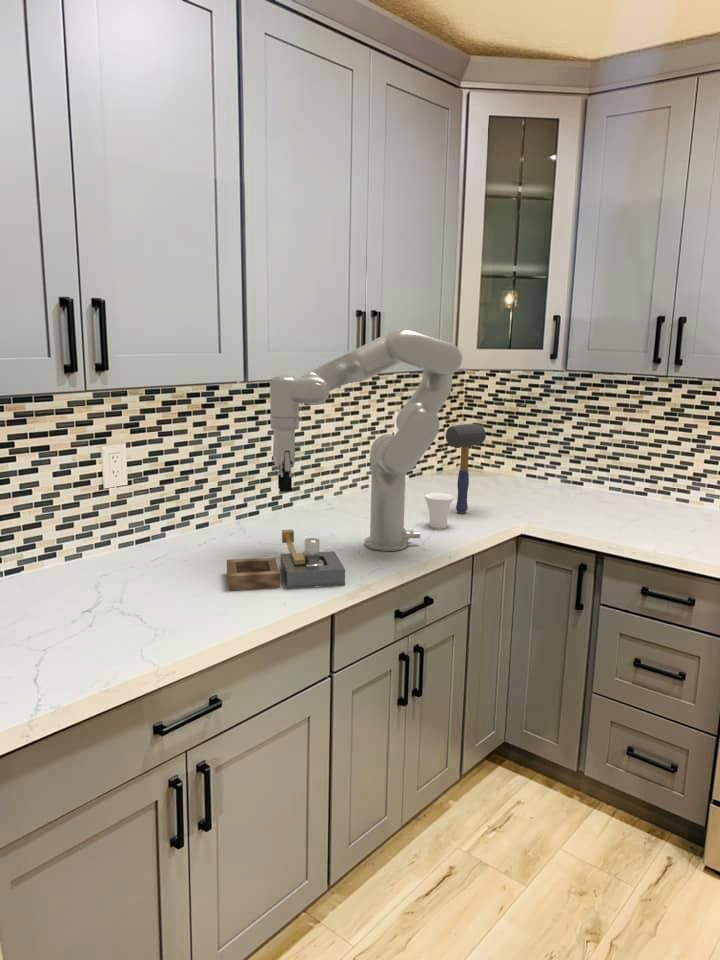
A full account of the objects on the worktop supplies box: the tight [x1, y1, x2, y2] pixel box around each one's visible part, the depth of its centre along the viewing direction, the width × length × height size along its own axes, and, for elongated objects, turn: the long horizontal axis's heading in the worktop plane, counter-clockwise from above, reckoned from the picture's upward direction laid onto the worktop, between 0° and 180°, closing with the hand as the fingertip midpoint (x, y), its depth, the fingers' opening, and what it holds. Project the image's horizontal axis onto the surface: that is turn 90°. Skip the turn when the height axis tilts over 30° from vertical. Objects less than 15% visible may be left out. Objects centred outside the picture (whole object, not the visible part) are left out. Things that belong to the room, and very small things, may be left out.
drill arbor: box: [300, 537, 324, 567], centre depth 176 cm, size 6×6×10 cm
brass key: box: [281, 529, 305, 565], centre depth 182 cm, size 3×20×3 cm, turn 13°
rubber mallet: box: [445, 423, 487, 514], centre depth 236 cm, size 12×8×30 cm, turn 123°
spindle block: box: [279, 550, 346, 590], centre depth 177 cm, size 14×14×4 cm
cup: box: [424, 492, 454, 530], centre depth 222 cm, size 9×9×10 cm
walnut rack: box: [226, 556, 281, 592], centre depth 174 cm, size 12×12×4 cm
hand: (284, 489), depth 194 cm, fingers closed
